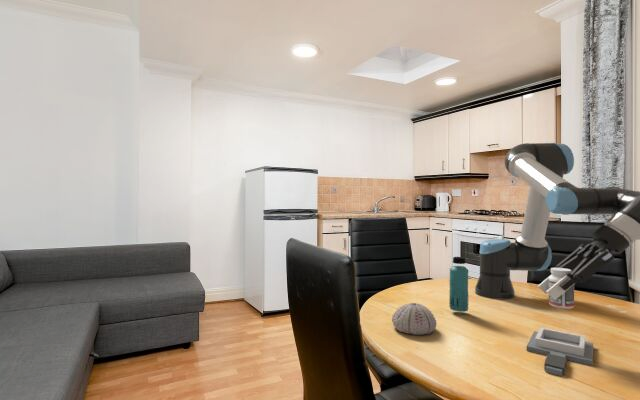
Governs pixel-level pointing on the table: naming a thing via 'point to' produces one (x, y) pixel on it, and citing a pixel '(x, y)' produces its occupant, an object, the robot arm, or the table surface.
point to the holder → (560, 349)
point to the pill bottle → (567, 297)
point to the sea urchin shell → (414, 319)
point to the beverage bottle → (459, 286)
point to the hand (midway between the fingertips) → (546, 292)
